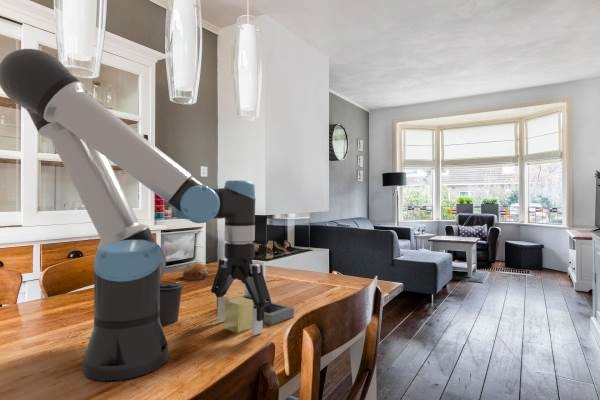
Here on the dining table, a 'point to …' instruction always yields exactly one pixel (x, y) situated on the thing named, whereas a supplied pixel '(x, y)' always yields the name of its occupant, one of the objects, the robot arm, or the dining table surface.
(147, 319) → the robot arm
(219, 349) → the dining table surface
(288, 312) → the grey flat frame
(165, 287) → the coffee cup
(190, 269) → the bread roll
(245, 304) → the pale yellow block
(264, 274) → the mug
